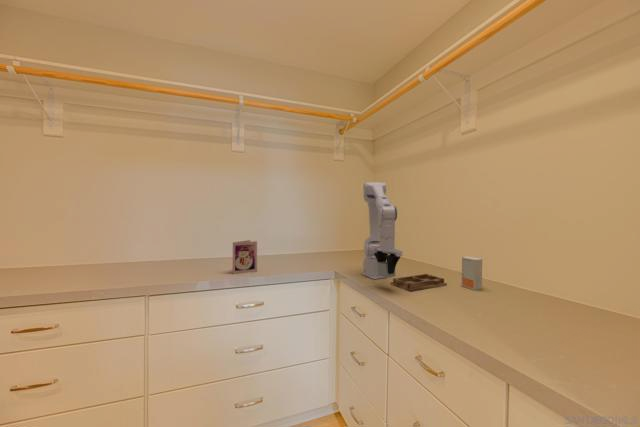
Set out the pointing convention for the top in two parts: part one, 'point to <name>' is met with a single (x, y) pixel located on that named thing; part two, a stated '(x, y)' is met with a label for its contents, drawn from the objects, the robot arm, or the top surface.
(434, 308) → the top surface
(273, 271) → the top surface
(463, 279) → the skincare box
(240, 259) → the greeting card
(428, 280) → the slot rack
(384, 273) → the slate block
